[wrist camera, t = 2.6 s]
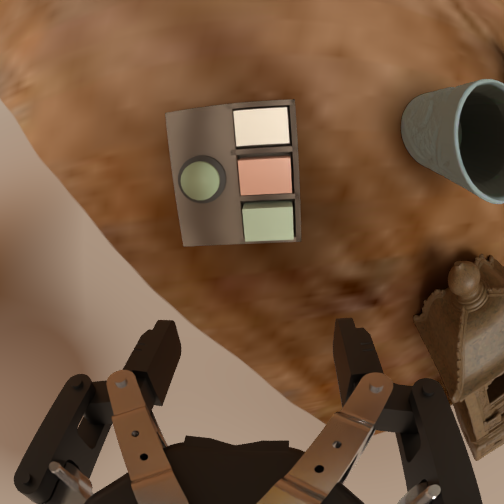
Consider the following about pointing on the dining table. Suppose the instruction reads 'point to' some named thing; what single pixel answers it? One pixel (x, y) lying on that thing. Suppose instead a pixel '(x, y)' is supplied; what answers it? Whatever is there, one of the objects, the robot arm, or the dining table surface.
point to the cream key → (261, 126)
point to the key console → (222, 172)
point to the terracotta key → (265, 175)
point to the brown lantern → (470, 348)
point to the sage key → (268, 220)
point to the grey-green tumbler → (460, 135)
